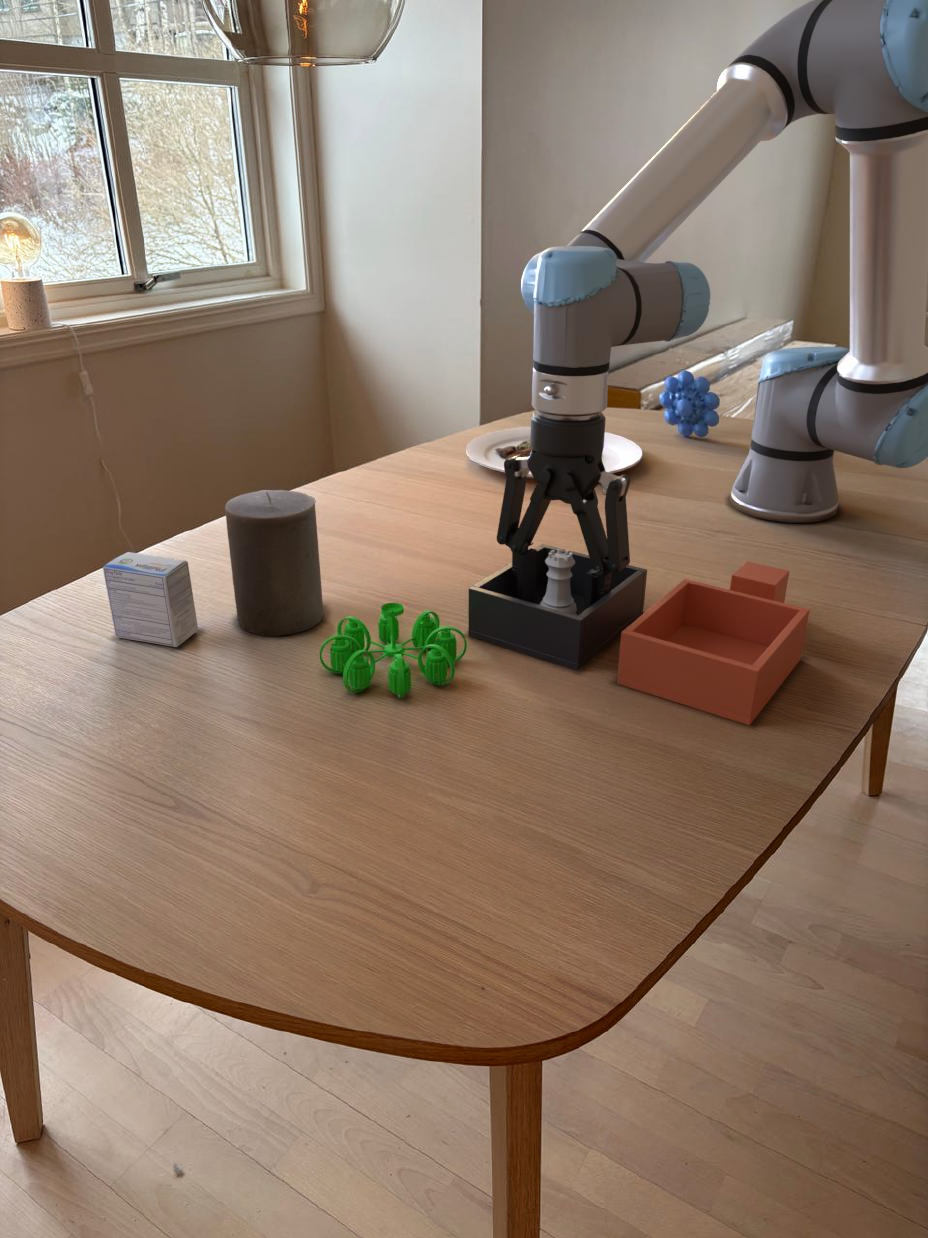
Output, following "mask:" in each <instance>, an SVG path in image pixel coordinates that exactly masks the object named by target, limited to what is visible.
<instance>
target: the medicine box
mask: <svg viewBox="0 0 928 1238" xmlns="http://www.w3.org/2000/svg"><path fill="white" fill-rule="evenodd" d="M189 567H190V566H189V562H188V561H187V560H185V559H179V558H173V557H167V556H160V555H153V554H145V553H138V552H131V551H127V552H125V553H123V554H121V555H119V556H118V557H115V558H113V559H112V560H111V561H109V562H108V563H106V564H105V565H104V566H102V571H103V577H104V583H105V587H106V588H105V589H106V593H107V598H108V603H109V609H110V615H111V621H112V624H113V630H114V635H115V637H116V638H119V639H125V640H133V641H138V642H143V643H149V644H154V645H155V644H156V645H161V646H166V647H173V648H178V647H179V646H181V645H182V644H183V643H185V642H186V641H188V639H190V637H192V636H193V635H194V634H195V633H197V632H198V631H199V625H198V619H197V613H196V605H195V600H194V594H193V592H194V591H193V587H192V579H191V573H190V568H189Z"/></svg>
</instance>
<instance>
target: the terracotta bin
mask: <svg viewBox="0 0 928 1238" xmlns="http://www.w3.org/2000/svg"><path fill="white" fill-rule="evenodd" d="M810 612H811V611H810V609H809V608H806V607H805V608H804V607H801V606H796V605H793V604H789V603H785V602H784V603H781V602H777V601H773V600H769V599H765V598H761V597H756V596H752V595H748V594H744V593H740V592H736V591H732V590H730V589H728V588H723V587H719V586H715V585H711V584H707V583H703V582H700V581H695V580H691V579H687V578H684V579H683V580H682V581H680V582H679V583H678V584H677V585H676V586H674V587H673V588H672V589H671V590H670V591H668V592H667V593H666V594H665V595H664V596H663V597H661V598H660V599H659V600H657V602H655V603H654V604H653V605H652V606H650V607H649V608H647V610H646V611H645V612H643V614H642V615H641V616H640V617H639V618H638V619H637V620H635V621H634V622H633V623H632V624H631V625H629V626H628V627H627V628H626V629H625V630H623V631H622V632H621V635H620V644H619V655H618V669H617V670H618V671H617V679H616V680H617V681H616V684H617V685H621V686H623V687H627V688H630V689H633V690H636V691H638V692H642V693H646V694H649V695H652V696H655V697H658V698H662V699H665V700H667V701H671V702H674V703H676V704H681V705H683V706H687V707H689V708H693V709H696V710H699V711H703V712H706V713H709V714H712V715H715V716H717V717H722V718H725V719H729V720H731V721H734V722H737V723H740V724H743V725H746V726H750V725H752V723H753V722H754V720H755V719H756V718H757V717H758V715H759V714H760V713H761V711H762V710H763V709H764V707H766V705H767V704H768V702H770V700H771V699H772V697H773V696H774V694H775V693H776V692H777V690H778V689H779V688H780V687H781V685H782V684H783V683H784V682H785V680H786V679H787V678H788V676H789V675H790V673H791V672H792V671H793V670H794V668H795V667H796V666H797V664H798V663H799V662H800V661H801V659H802V655H803V649H804V644H805V638H806V632H807V626H808V621H809V617H810Z"/></svg>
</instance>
